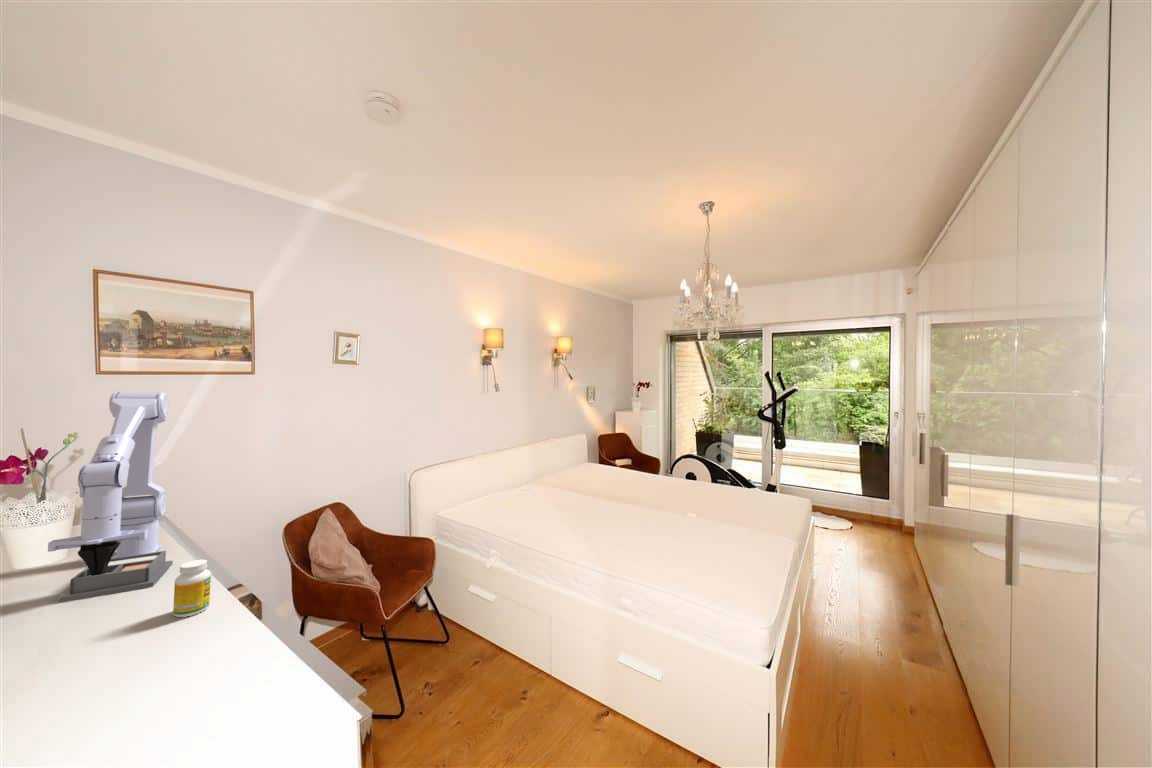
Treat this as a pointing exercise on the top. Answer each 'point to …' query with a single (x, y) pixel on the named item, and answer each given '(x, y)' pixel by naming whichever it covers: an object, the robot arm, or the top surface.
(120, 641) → the top surface
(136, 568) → the terracotta key
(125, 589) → the grey compartment tray
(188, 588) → the supplement bottle
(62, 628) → the top surface
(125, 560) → the space bar
